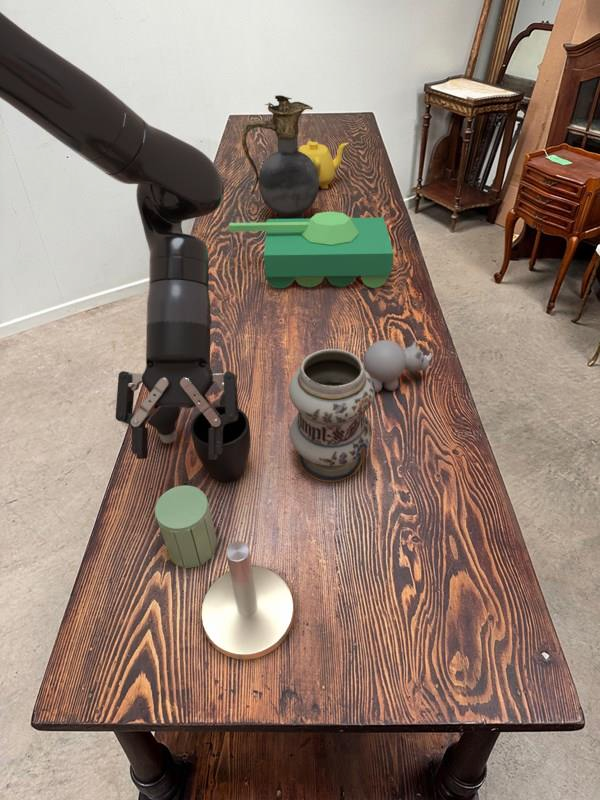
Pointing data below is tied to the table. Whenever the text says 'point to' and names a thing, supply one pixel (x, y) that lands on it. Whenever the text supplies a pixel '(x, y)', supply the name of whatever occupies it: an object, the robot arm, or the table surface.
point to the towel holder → (247, 608)
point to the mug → (234, 445)
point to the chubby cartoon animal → (392, 362)
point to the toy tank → (324, 250)
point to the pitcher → (285, 164)
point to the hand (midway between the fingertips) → (177, 458)
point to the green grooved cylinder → (186, 526)
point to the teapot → (323, 161)
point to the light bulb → (165, 423)
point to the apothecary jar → (331, 414)
